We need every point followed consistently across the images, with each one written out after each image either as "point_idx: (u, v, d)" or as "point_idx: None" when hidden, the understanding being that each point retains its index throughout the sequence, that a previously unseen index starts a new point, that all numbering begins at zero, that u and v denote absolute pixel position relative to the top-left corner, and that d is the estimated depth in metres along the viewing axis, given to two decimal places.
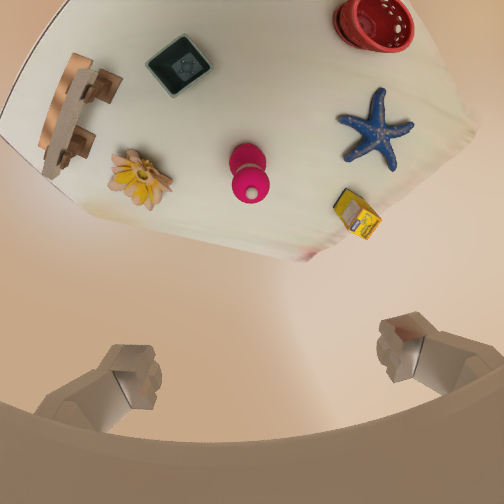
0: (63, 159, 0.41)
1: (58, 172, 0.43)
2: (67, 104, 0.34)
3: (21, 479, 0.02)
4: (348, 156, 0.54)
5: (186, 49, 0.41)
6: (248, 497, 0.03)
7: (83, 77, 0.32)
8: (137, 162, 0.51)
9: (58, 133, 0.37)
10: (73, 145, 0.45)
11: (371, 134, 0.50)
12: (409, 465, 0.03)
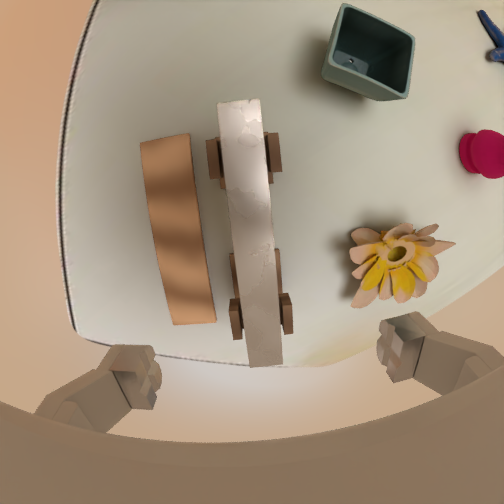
0: (287, 314, 0.24)
1: None
2: (240, 192, 0.19)
3: (21, 479, 0.02)
4: None
5: None
6: (248, 497, 0.03)
7: (245, 115, 0.18)
8: (390, 237, 0.30)
9: (253, 268, 0.21)
10: None
11: None
12: (409, 465, 0.03)
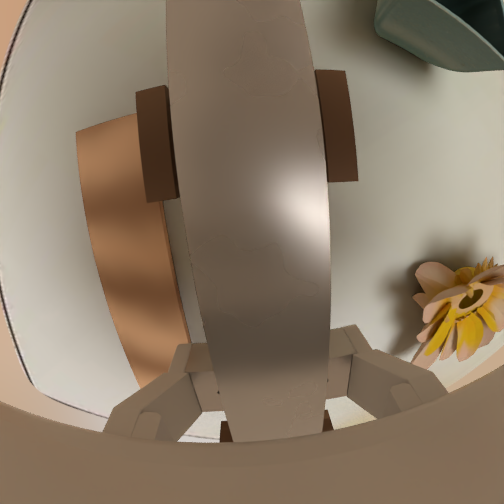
0: None
1: None
2: (234, 252, 0.06)
3: (21, 479, 0.02)
4: None
5: None
6: (248, 497, 0.03)
7: (251, 5, 0.04)
8: None
9: (271, 425, 0.07)
10: None
11: None
12: (409, 465, 0.03)
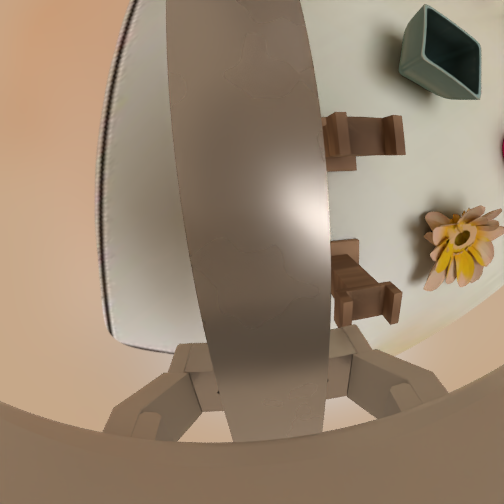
0: (396, 302, 0.21)
1: None
2: (234, 254, 0.06)
3: (21, 479, 0.02)
4: None
5: None
6: (249, 497, 0.03)
7: (251, 6, 0.04)
8: (461, 220, 0.26)
9: (271, 426, 0.07)
10: (362, 272, 0.26)
11: None
12: (409, 465, 0.03)
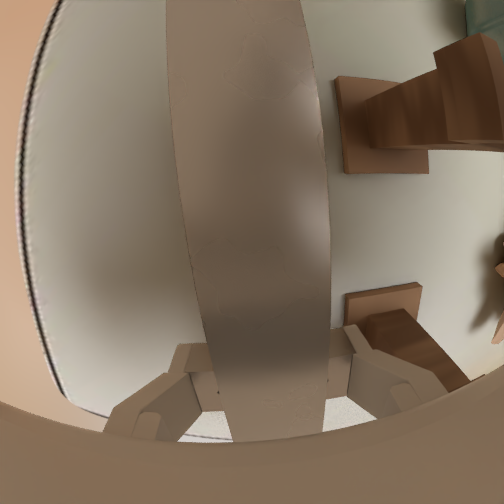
0: None
1: None
2: (234, 255, 0.06)
3: (21, 479, 0.02)
4: None
5: None
6: (248, 497, 0.03)
7: (251, 7, 0.04)
8: None
9: (271, 427, 0.07)
10: (440, 353, 0.12)
11: None
12: (409, 465, 0.03)
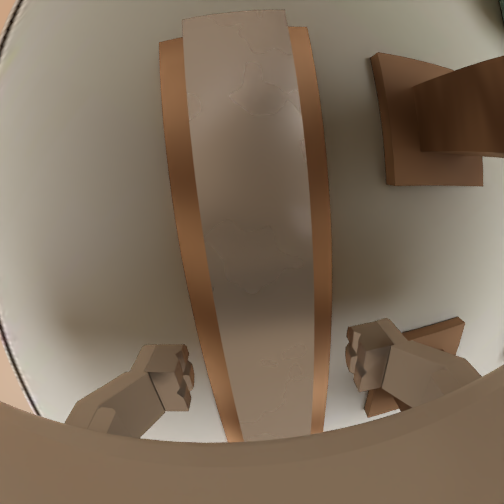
0: None
1: None
2: (238, 233, 0.08)
3: (21, 479, 0.02)
4: None
5: None
6: (249, 496, 0.03)
7: (250, 39, 0.06)
8: None
9: (268, 387, 0.09)
10: None
11: None
12: (409, 465, 0.03)
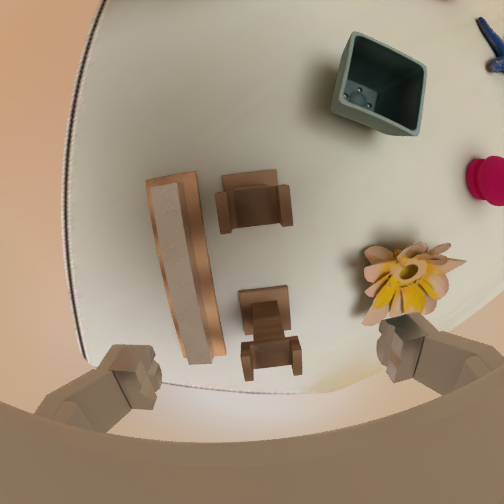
0: (296, 358, 0.24)
1: (212, 348, 0.35)
2: (168, 247, 0.29)
3: (21, 479, 0.02)
4: None
5: None
6: (248, 496, 0.03)
7: (168, 195, 0.28)
8: (403, 255, 0.29)
9: (181, 296, 0.31)
10: (277, 323, 0.29)
11: None
12: (409, 465, 0.03)
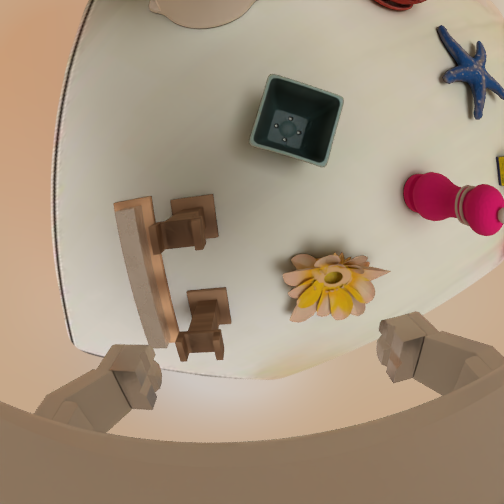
0: (216, 346, 0.32)
1: (168, 335, 0.43)
2: (129, 257, 0.36)
3: (21, 479, 0.02)
4: (478, 111, 0.31)
5: (271, 106, 0.33)
6: (249, 497, 0.03)
7: (127, 217, 0.35)
8: (323, 264, 0.37)
9: (141, 294, 0.38)
10: (210, 318, 0.36)
11: (475, 74, 0.28)
12: (409, 465, 0.03)
